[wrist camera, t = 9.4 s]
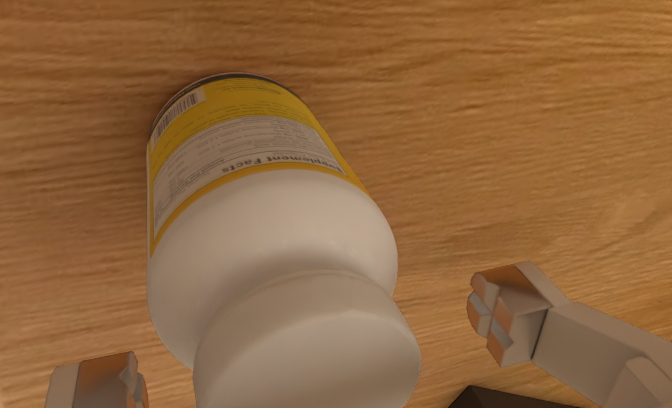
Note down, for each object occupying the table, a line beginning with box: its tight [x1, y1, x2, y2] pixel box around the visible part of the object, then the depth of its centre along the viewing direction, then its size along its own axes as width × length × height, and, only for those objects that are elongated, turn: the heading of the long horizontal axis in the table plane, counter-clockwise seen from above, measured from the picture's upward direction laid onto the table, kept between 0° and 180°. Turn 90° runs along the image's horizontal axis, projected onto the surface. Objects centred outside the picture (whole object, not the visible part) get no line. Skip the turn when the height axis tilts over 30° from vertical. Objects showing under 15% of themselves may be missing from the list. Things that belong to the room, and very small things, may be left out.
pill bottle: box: [146, 72, 421, 408], centre depth 15 cm, size 6×6×12 cm
